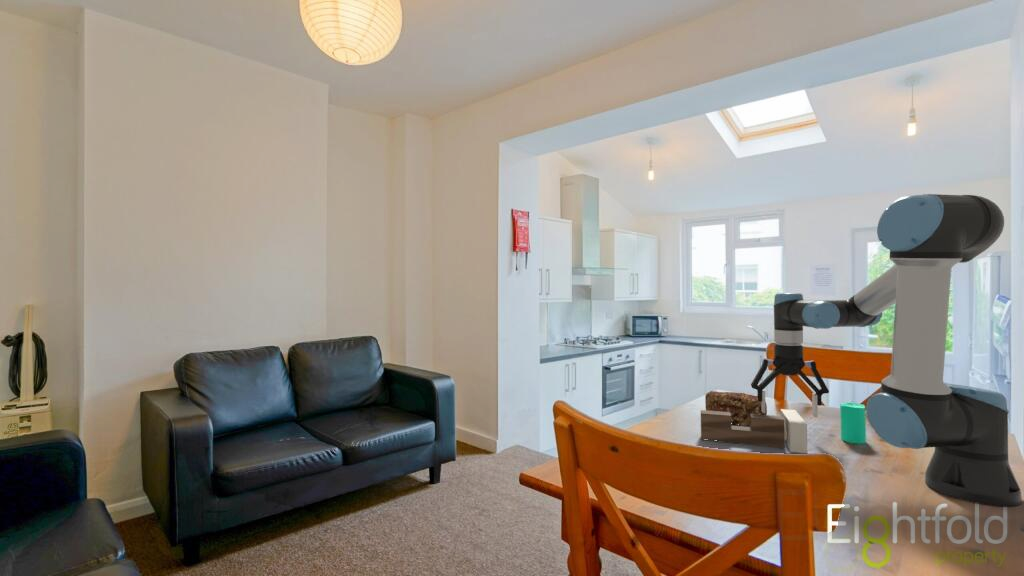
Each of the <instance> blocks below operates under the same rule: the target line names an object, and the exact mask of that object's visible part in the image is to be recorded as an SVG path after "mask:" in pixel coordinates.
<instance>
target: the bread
mask: <svg viewBox="0 0 1024 576" xmlns="http://www.w3.org/2000/svg"><path fill="white" fill-rule="evenodd" d="M704 397H705V400H704V401H705V403H704V404H705V410H706V411H719V412H730V413H731V423H732V424H739V425H750V414H760V415H768V414H767V412H768V406H767V401H766V400H765V413H762V411H761V401H758V398H757V395H753V394H749V393H744V392H734V391H729V392H728V391H713V390H711V391H709V392H707V393H705V396H704ZM739 425H738V426H739Z"/></svg>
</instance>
